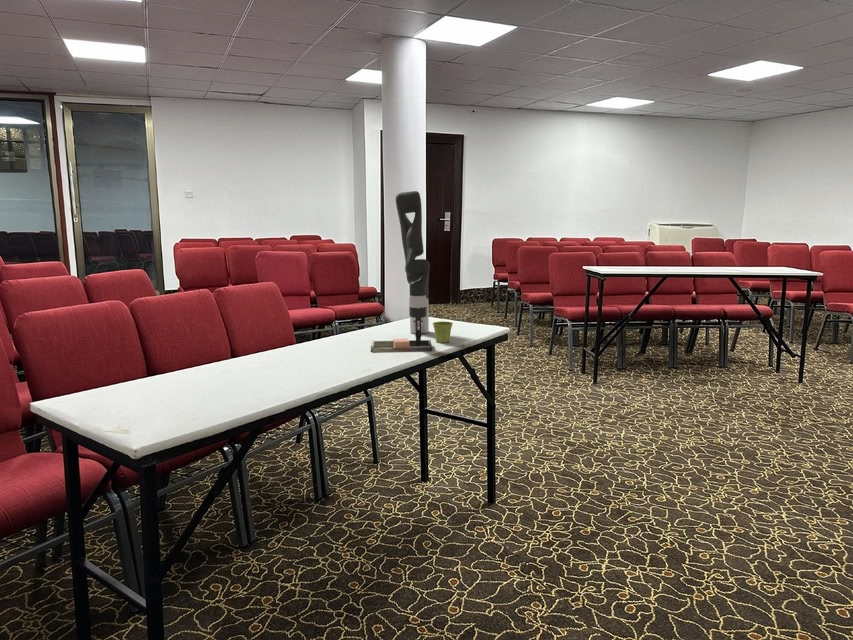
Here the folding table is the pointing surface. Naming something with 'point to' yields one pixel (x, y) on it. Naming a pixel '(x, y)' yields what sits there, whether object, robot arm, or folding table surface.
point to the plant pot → (442, 331)
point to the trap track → (412, 347)
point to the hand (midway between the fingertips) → (418, 345)
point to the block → (401, 343)
